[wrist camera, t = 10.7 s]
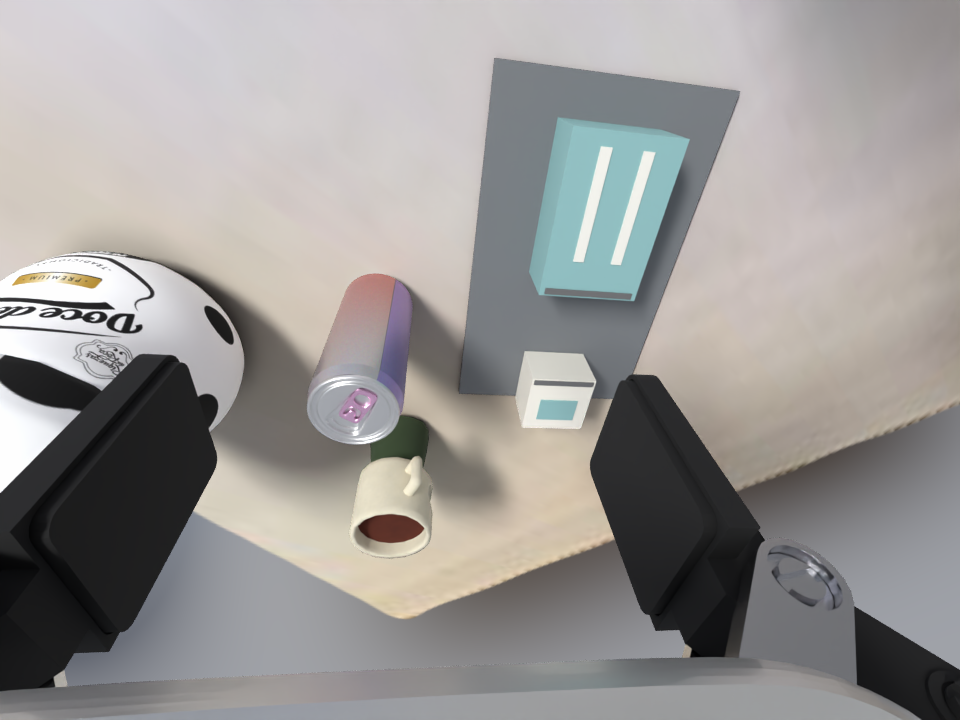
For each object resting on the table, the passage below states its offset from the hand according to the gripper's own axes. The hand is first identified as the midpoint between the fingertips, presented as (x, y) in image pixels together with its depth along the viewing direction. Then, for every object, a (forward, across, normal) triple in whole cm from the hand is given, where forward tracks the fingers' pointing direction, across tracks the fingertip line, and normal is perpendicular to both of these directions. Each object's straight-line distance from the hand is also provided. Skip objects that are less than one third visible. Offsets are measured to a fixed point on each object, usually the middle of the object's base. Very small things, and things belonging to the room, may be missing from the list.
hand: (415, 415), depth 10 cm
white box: (+28, -13, +19) cm, 36 cm away
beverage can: (+28, +4, +12) cm, 31 cm away
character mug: (+28, +2, +28) cm, 40 cm away
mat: (+28, -13, +8) cm, 32 cm away
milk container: (+29, +24, +16) cm, 41 cm away
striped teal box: (+28, -13, +2) cm, 31 cm away
